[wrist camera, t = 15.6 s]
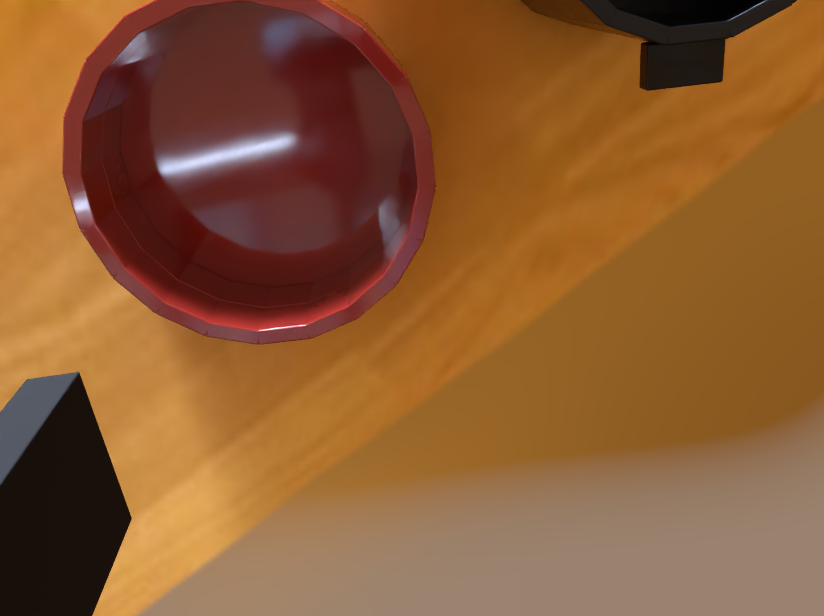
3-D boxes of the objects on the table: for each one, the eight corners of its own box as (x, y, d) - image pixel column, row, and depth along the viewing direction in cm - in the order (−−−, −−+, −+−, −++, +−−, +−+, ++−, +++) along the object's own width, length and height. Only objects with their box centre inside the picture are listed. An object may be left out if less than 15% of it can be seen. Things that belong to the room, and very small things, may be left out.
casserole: (153, 310, 41) (120, 361, 35) (67, 1, 34) (9, 5, 28) (437, 276, 41) (448, 323, 35) (407, -38, 34) (414, -41, 29)
